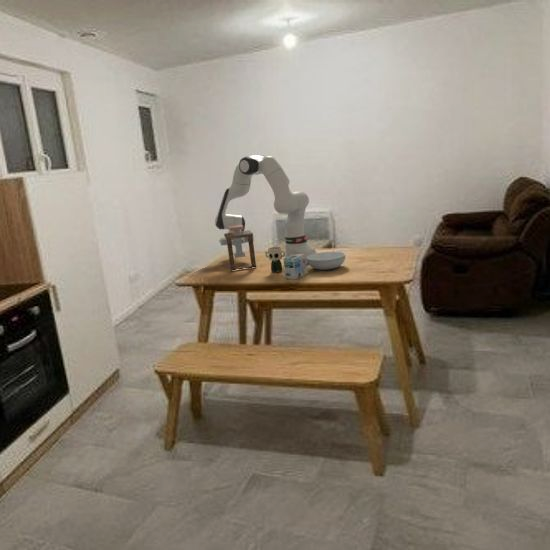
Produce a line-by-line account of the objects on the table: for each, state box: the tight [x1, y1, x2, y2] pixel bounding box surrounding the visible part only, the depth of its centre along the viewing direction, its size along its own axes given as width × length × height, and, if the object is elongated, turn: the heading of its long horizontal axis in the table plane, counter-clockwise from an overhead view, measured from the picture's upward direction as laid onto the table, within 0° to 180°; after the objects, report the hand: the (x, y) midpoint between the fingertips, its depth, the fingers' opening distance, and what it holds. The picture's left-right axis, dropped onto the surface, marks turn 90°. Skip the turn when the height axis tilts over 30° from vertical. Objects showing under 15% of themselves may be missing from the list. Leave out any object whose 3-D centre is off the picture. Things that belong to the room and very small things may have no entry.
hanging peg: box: [228, 225, 246, 259], centre depth 290 cm, size 8×8×18 cm
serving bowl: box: [306, 251, 346, 271], centre depth 260 cm, size 21×21×7 cm
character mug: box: [264, 246, 285, 273], centre depth 264 cm, size 11×7×13 cm, turn 73°
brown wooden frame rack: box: [223, 229, 257, 271], centre depth 281 cm, size 14×15×20 cm
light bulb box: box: [282, 254, 308, 280], centre depth 249 cm, size 11×7×11 cm, turn 143°
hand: (238, 241), depth 289 cm, fingers closed on hanging peg, 4 cm apart
